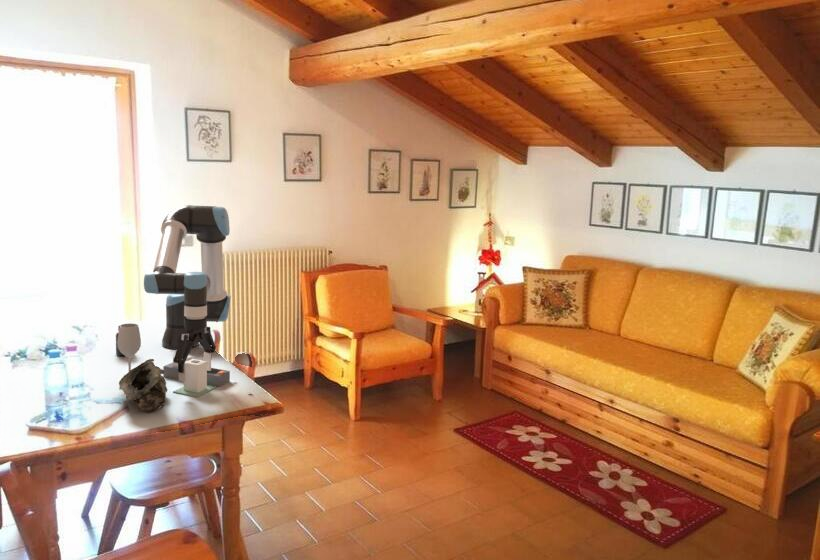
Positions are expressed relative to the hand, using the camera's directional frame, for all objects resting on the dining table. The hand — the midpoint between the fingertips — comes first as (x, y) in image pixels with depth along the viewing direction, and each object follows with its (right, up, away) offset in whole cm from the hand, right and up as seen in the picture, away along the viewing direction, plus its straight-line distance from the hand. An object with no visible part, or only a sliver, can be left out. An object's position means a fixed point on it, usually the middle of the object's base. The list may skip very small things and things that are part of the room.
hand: (195, 375), depth 226 cm
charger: (0, -5, +1) cm, 5 cm away
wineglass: (-25, -3, +5) cm, 26 cm away
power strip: (-7, -3, +13) cm, 15 cm away
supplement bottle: (-41, +3, +36) cm, 54 cm away
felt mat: (0, -5, +1) cm, 5 cm away
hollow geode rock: (-12, -8, -14) cm, 20 cm away
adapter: (-9, 0, +14) cm, 17 cm away
